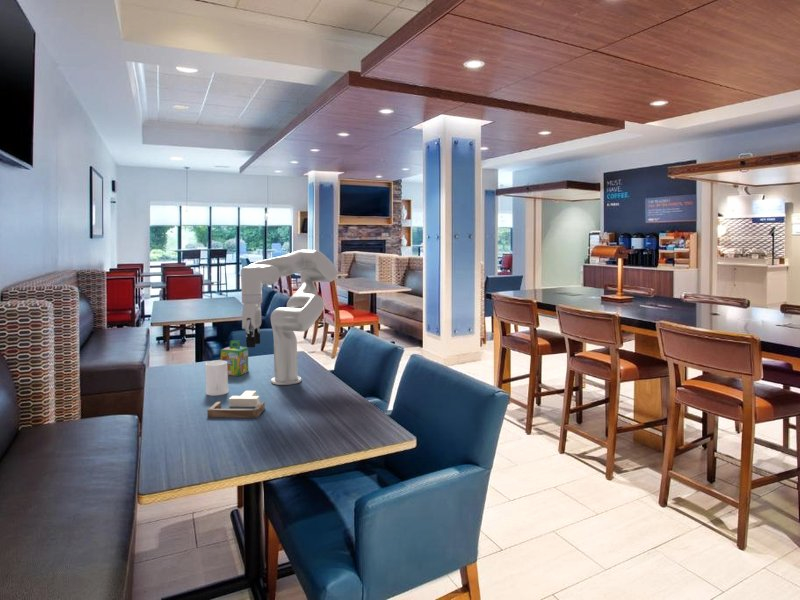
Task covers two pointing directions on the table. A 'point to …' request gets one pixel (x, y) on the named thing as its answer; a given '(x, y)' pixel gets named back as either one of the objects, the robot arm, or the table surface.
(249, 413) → the brown u-shaped bracket
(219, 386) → the mug
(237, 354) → the chalk box
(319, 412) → the table surface
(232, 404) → the t block
